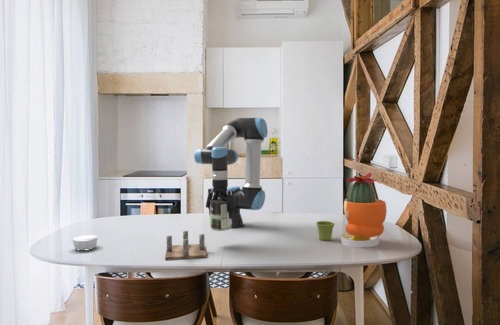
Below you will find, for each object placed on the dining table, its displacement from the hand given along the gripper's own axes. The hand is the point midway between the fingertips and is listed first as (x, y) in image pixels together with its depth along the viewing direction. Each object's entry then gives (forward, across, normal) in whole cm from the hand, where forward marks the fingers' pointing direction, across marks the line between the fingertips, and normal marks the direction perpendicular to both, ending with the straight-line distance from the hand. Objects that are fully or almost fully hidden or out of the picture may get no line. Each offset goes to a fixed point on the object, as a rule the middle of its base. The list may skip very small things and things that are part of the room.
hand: (220, 223), depth 193 cm
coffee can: (+3, 0, 0) cm, 3 cm away
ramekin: (+11, -51, -41) cm, 67 cm away
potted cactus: (+12, +57, +44) cm, 73 cm away
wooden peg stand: (+11, -6, -19) cm, 22 cm away
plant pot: (+12, +38, +39) cm, 56 cm away
